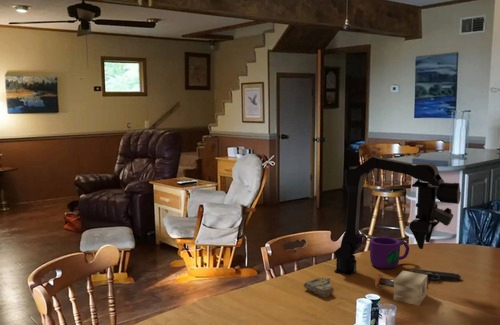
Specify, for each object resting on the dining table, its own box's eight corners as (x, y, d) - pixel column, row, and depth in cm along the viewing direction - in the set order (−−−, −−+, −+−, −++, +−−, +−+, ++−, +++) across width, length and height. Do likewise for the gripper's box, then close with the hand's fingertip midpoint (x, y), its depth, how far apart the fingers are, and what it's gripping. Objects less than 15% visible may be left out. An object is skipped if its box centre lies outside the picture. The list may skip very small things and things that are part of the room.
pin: (374, 288, 161) (374, 276, 161) (378, 284, 165) (379, 272, 164) (411, 296, 155) (412, 283, 154) (415, 291, 158) (415, 279, 158)
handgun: (467, 286, 163) (460, 272, 175) (411, 280, 167) (407, 266, 178) (466, 294, 164) (459, 279, 175) (410, 288, 167) (406, 274, 179)
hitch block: (393, 300, 155) (394, 279, 154) (402, 289, 164) (402, 270, 163) (419, 305, 151) (420, 284, 150) (426, 294, 159) (427, 275, 159)
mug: (381, 272, 181) (381, 246, 180) (363, 262, 192) (364, 238, 190) (418, 266, 187) (419, 241, 186) (399, 257, 198) (400, 233, 197)
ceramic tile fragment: (338, 288, 157) (308, 289, 156) (338, 298, 157) (308, 299, 156) (329, 276, 169) (301, 277, 168) (329, 285, 169) (301, 286, 168)
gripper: (445, 208, 151) (443, 256, 153) (457, 198, 166) (454, 242, 168) (409, 204, 157) (407, 250, 159) (423, 195, 172) (421, 237, 174)
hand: (424, 245), depth 165 cm, fingers open, 9 cm apart
